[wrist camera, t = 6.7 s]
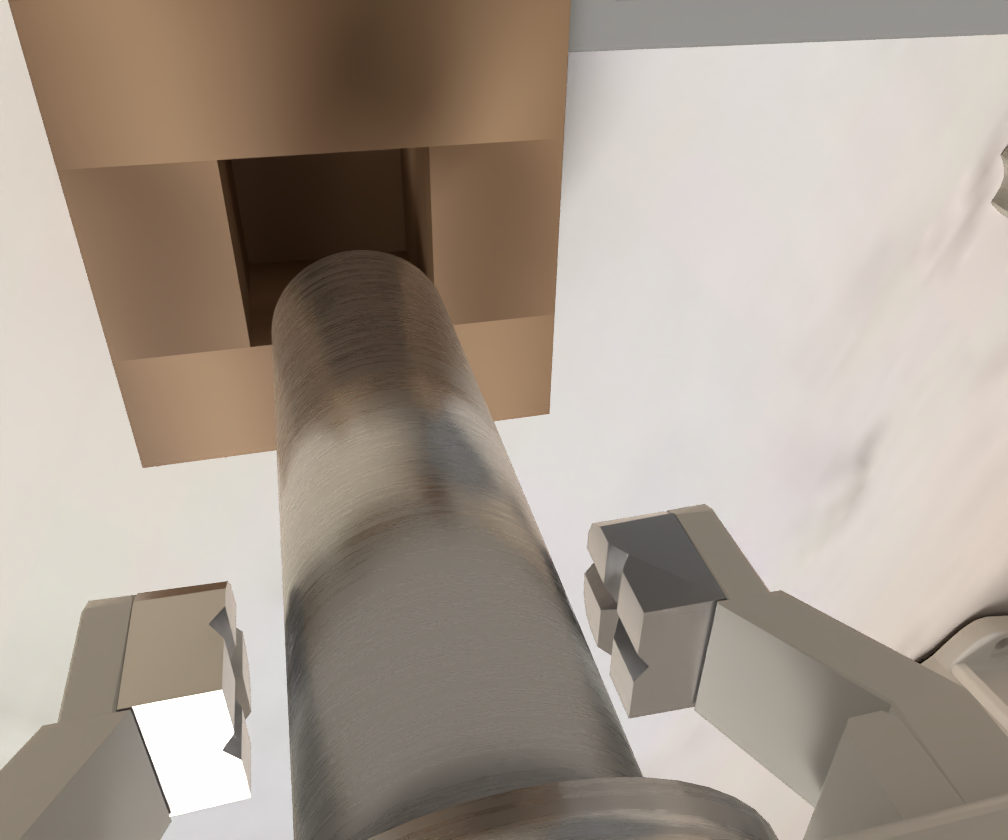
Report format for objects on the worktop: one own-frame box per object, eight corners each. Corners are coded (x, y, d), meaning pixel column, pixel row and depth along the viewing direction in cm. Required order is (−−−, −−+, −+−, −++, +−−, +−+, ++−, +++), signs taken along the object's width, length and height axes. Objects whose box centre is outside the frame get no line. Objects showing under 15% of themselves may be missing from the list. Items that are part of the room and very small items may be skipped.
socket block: (497, -50, 21) (571, -14, 17) (494, 309, 27) (548, 413, 22) (65, -44, 19) (7, 0, 14) (161, 344, 25) (142, 467, 20)
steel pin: (489, 195, 15) (932, 851, 5) (488, 423, 18) (781, 1137, 8) (201, 216, 14) (90, 1077, 4) (247, 455, 17) (243, 1315, 7)
